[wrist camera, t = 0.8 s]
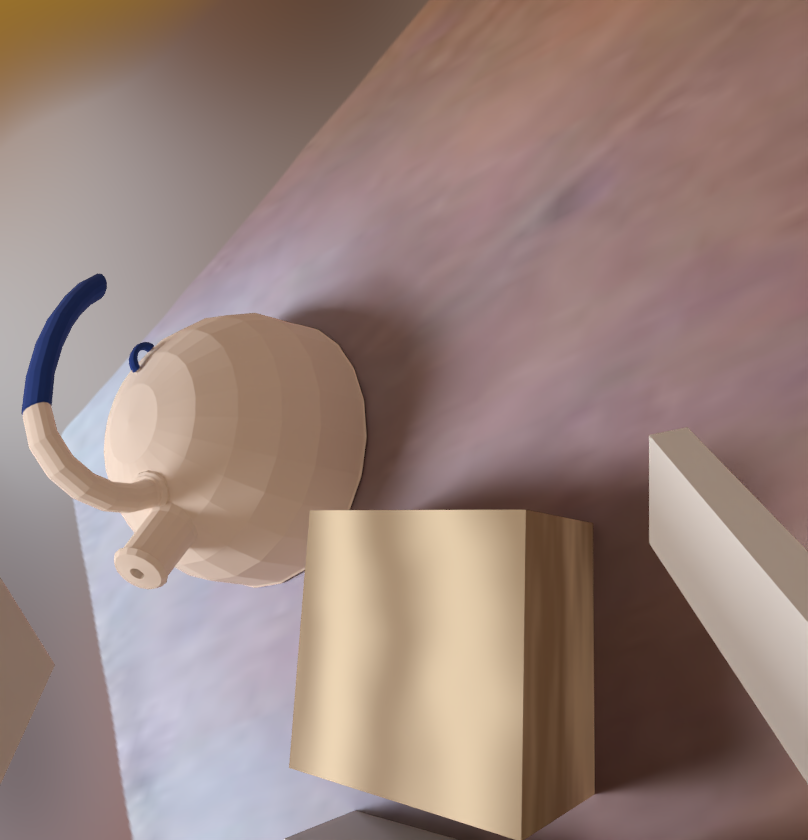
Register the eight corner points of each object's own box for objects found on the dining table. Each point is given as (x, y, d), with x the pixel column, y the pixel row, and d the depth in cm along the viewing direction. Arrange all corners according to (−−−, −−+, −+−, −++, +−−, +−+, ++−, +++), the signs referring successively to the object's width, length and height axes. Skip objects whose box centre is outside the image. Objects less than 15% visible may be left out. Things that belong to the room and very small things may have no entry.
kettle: (195, 619, 53) (-67, 631, 39) (178, 385, 60) (-46, 323, 46) (395, 549, 43) (139, 529, 28) (344, 278, 50) (122, 157, 36)
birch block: (594, 523, 35) (525, 509, 29) (596, 793, 33) (521, 841, 26) (397, 521, 43) (309, 510, 37) (385, 739, 40) (288, 767, 34)
